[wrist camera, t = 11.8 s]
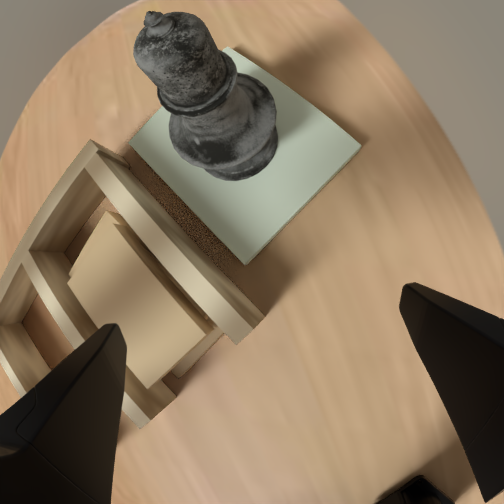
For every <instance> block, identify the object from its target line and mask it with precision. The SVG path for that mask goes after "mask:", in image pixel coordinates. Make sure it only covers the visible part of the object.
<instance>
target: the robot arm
mask: <svg viewBox="0 0 504 504" xmlns="http://www.w3.org/2000/svg"><path fill="white" fill-rule="evenodd" d="M399 309H400V313H401V315H402V318H403V320H404V322H405V325H406V327H407V329H408V332H409V334H410V337H411V339H412V342H413V344H414V346H415V348H416V350H417V352H418V354H419V356H420V358H421V360H422V362H423V364H424V366H425V368H426V370H427V372H428V373H429V375H430V377H431V379H432V381H433V383H434V385H435V387H436V389H437V391H438V393H439V395H440V397H441V400H442V402H443V404H444V406H445V408H446V410H447V412H448V414H449V416H450V419H451V421H452V423H453V425H454V427H455V430H456V432H457V434H458V436H459V439H460V441H461V443H462V446H463V448H464V450H465V453H466V456H467V458H468V460H469V463H470V465H471V468H472V470H473V473H474V475H475V478H476V481H477V483H478V486H479V489H480V491H481V494H482V497H483V499H484V501H485V503H487V502H488V501H490V500H491V499H493V498H494V497H496V496H497V495H499V494H500V493H502V492H503V491H504V319H502V318H500V319H499V317H497V316H495V315H492V314H490V313H488V312H485V311H483V310H481V309H478V308H476V307H474V306H471V305H469V304H467V303H464V302H462V301H460V300H457V299H455V298H452V297H450V296H448V295H445V294H443V293H440V292H438V291H436V290H433V289H431V288H428V287H426V286H423V285H421V284H418V283H416V282H413V283H408V284H405V285H404V286H403V289H402V294H401V299H400V304H399ZM126 358H127V345H126V342H125V339H124V337H123V334H122V332H121V329H120V327H119V325H118V324H117V323H107V324H104V325H103V326H102V327H101V328H99V329H98V330H97V331H96V332H95V333H94V334H92V335H91V336H90V337H89V338H88V339H87V340H86V341H84V342H83V343H82V344H81V345H80V346H79V347H78V348H76V349H75V350H74V351H73V352H72V353H71V354H70V355H68V356H67V357H66V358H65V359H64V360H63V361H62V362H60V363H59V364H58V365H57V366H56V367H55V368H54V369H53V370H52V371H50V372H49V373H48V374H47V375H46V376H45V377H44V378H43V379H42V380H40V381H39V382H38V383H37V384H36V385H35V387H33V388H32V389H30V390H29V391H28V392H27V393H26V394H25V395H24V396H23V397H22V398H21V399H19V400H18V401H17V402H16V403H15V404H14V405H12V406H11V407H10V408H9V409H7V410H6V411H5V412H4V413H2V414H1V415H0V504H111V493H112V482H113V472H114V462H115V453H116V445H117V438H118V430H119V423H120V416H121V410H122V404H123V397H124V390H125V373H126ZM418 481H420V482H418ZM417 482H418V483H417ZM378 504H455V503H454V501H453V500H451V499H450V498H449V497H448V496H447V495H445V494H444V493H443V492H442V491H441V490H440V489H438V488H437V487H436V486H435V485H434V484H432V483H431V482H430V481H429V480H428V479H427V478H426V477H424V476H423V475H419V476H417V477H415V478H414V479H412V480H411V481H410V482H408V483H407V484H406V485H404V486H403V487H401V488H400V489H399V490H397V491H396V492H394V493H393V494H391V495H390V496H388V497H387V498H385V499H384V500H382V501H381V502H379V503H378Z"/></svg>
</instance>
